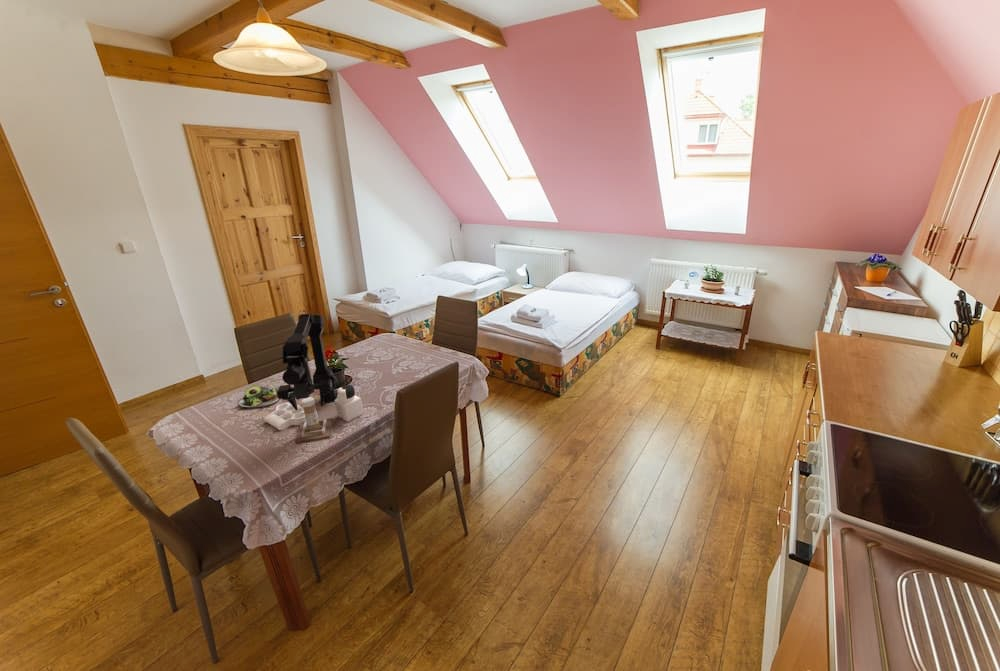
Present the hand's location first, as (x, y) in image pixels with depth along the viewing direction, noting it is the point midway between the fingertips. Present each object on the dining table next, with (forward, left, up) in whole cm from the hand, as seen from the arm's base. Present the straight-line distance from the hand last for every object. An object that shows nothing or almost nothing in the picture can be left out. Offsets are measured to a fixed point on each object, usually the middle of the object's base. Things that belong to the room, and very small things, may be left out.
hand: (309, 407), depth 162 cm
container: (-8, +13, -11) cm, 19 cm away
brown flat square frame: (0, 0, -11) cm, 11 cm away
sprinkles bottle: (0, 0, -10) cm, 10 cm away
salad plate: (-35, -27, -11) cm, 45 cm away
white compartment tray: (-13, -12, -11) cm, 21 cm away
